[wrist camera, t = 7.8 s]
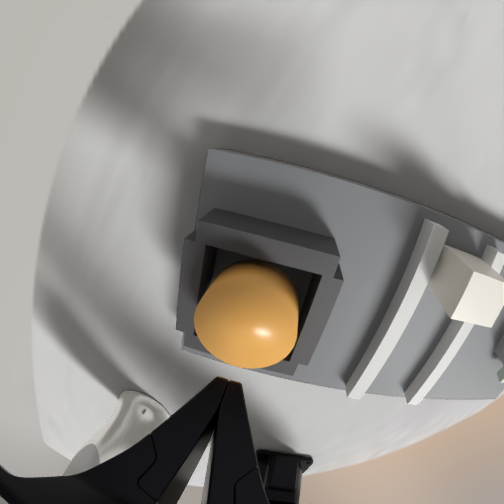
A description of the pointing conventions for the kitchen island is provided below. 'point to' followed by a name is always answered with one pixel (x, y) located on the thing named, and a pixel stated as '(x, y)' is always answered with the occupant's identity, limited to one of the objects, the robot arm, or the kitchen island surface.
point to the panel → (345, 279)
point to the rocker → (501, 375)
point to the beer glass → (120, 431)
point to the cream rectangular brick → (467, 287)
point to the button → (249, 315)
